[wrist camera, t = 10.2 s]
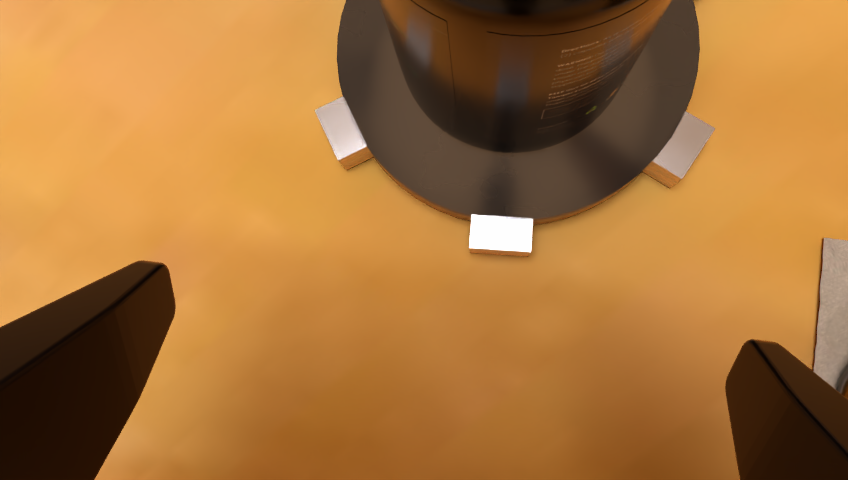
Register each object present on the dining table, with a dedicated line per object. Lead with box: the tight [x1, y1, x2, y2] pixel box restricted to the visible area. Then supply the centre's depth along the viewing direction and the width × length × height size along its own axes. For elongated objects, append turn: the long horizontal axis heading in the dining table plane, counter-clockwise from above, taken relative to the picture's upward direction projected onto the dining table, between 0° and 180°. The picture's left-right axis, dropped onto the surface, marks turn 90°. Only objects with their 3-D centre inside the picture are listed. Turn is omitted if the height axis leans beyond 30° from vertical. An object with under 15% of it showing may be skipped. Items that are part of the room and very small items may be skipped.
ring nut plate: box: [315, 0, 715, 257], centre depth 20 cm, size 13×12×1 cm
